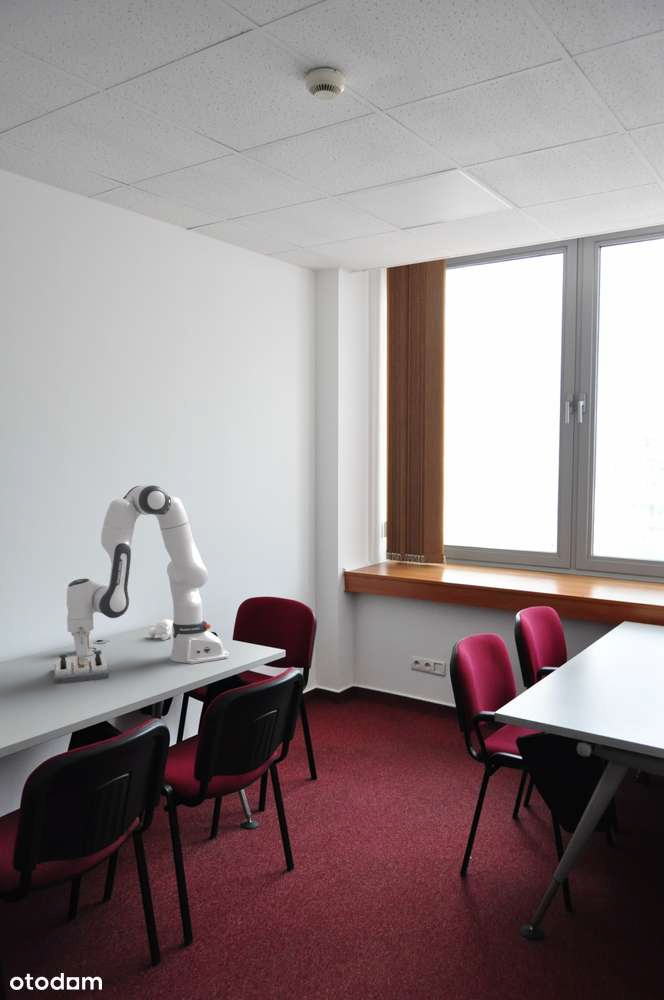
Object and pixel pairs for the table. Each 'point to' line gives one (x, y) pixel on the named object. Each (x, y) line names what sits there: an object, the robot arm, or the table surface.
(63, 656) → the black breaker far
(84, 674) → the breaker board
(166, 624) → the white crumpled lump
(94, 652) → the black breaker near arm
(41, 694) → the table surface
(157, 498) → the robot arm
